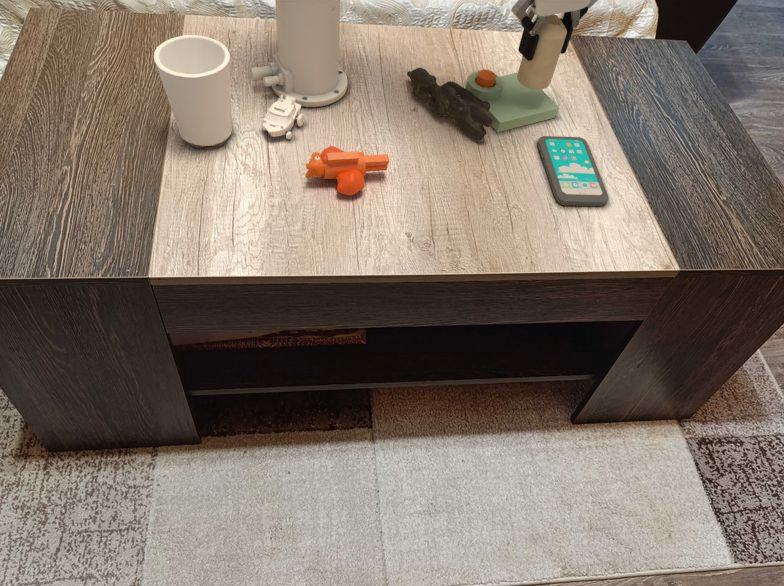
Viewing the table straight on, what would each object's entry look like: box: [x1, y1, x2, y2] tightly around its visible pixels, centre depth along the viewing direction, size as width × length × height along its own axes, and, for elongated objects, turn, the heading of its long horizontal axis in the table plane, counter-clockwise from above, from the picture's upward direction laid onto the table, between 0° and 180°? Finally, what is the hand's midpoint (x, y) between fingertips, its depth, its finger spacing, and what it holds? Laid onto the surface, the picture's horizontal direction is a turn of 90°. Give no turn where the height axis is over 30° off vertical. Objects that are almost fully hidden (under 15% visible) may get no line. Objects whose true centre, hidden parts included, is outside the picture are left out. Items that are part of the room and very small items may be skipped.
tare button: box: [476, 69, 497, 88], centre depth 102 cm, size 3×3×2 cm
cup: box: [153, 34, 233, 149], centre depth 88 cm, size 10×10×13 cm
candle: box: [517, 14, 567, 90], centre depth 96 cm, size 6×6×10 cm
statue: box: [406, 66, 492, 140], centre depth 100 cm, size 6×6×20 cm
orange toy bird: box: [305, 145, 390, 197], centre depth 89 cm, size 5×8×12 cm
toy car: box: [261, 95, 305, 140], centre depth 94 cm, size 5×8×4 cm, turn 160°
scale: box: [464, 70, 560, 133], centre depth 104 cm, size 13×12×4 cm
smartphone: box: [537, 135, 609, 207], centre depth 97 cm, size 9×1×15 cm
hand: (541, 51), depth 96 cm, fingers closed on candle, 5 cm apart
